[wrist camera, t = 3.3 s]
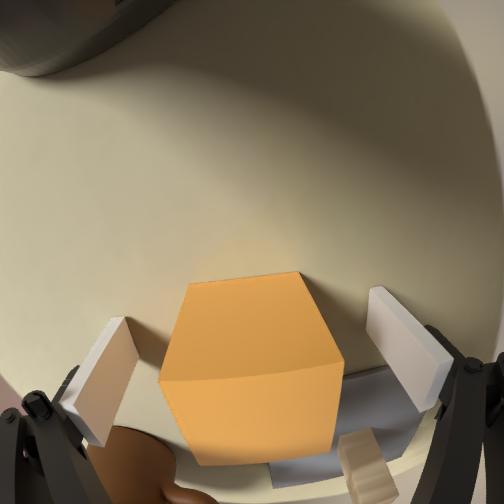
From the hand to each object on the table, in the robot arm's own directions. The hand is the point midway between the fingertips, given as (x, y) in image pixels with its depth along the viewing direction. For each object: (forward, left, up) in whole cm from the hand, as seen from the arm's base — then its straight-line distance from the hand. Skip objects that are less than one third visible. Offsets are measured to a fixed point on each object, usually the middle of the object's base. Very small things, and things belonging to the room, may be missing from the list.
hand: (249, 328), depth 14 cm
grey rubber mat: (+13, +7, 0) cm, 15 cm away
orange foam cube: (0, 0, 0) cm, 0 cm away
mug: (+12, -9, 0) cm, 15 cm away
